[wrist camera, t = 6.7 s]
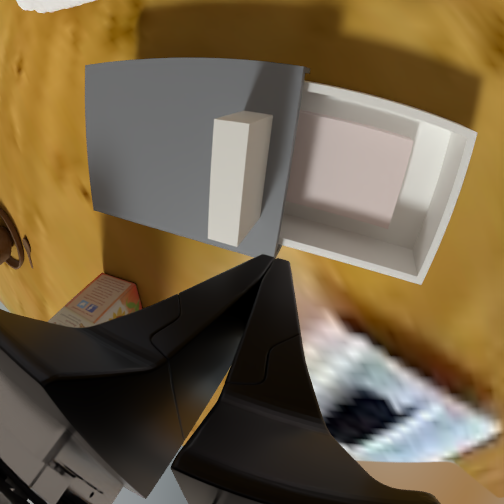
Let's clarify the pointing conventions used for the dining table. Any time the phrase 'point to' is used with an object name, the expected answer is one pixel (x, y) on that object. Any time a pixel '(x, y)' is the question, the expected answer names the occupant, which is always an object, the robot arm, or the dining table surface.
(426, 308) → the dining table surface
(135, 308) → the cracker box
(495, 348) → the dining table surface
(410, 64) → the dining table surface
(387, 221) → the tray
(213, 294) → the robot arm
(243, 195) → the lid
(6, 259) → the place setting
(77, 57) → the dining table surface
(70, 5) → the crumpled cloth
